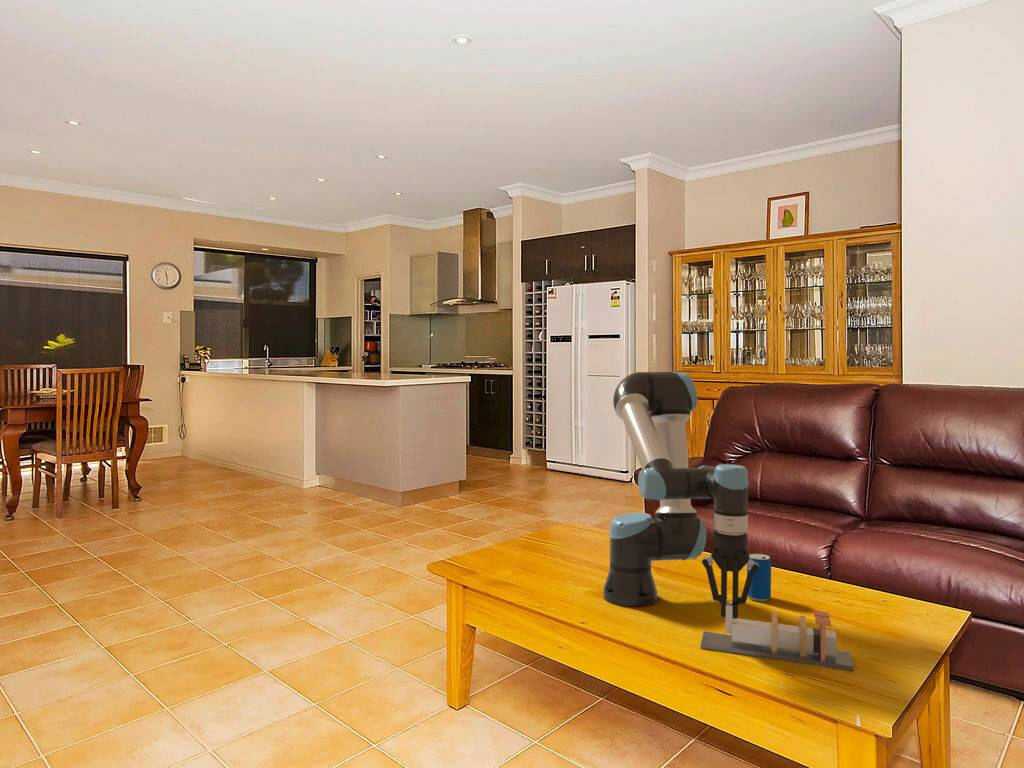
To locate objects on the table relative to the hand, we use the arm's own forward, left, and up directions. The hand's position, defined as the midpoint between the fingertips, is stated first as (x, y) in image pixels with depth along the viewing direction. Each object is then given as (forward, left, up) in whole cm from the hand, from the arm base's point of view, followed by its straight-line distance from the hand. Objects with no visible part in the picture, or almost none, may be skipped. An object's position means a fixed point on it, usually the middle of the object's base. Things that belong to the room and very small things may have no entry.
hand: (729, 631), depth 159 cm
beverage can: (+6, +37, -4) cm, 38 cm away
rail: (+10, 0, -4) cm, 11 cm away
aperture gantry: (+20, 0, -4) cm, 20 cm away
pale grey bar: (+12, 0, -2) cm, 12 cm away
